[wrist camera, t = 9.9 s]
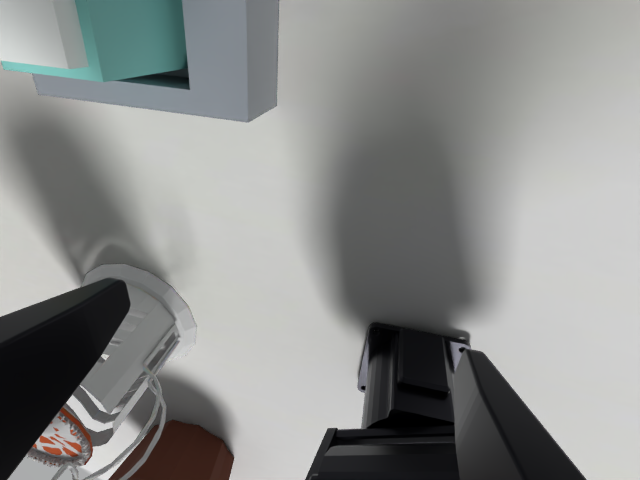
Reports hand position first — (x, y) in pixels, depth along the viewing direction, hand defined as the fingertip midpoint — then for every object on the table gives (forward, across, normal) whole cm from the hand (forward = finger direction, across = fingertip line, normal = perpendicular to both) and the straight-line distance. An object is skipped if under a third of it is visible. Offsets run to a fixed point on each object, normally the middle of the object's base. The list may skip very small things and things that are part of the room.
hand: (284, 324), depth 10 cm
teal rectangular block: (+11, +9, -6) cm, 16 cm away
